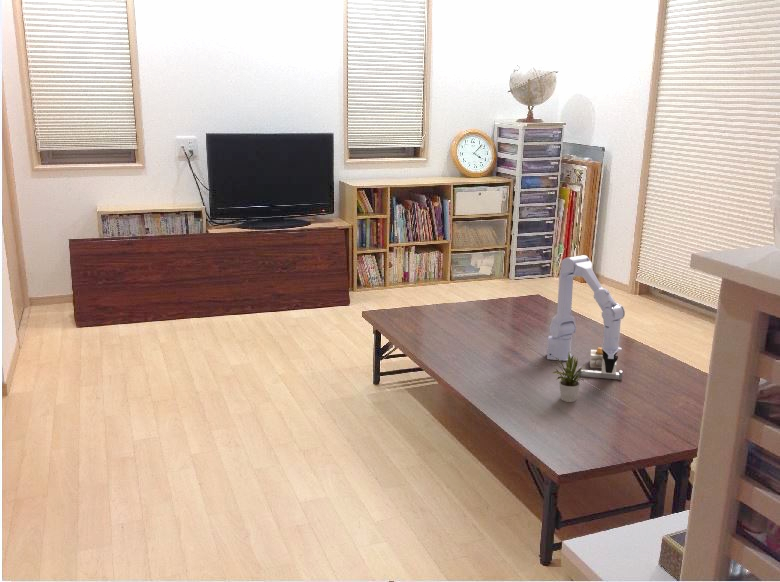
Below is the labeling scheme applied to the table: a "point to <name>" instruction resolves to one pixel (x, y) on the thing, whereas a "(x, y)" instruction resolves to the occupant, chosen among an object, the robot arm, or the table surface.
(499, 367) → the table surface
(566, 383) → the house plant
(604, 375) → the block
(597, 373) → the rail
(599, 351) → the plunger
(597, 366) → the cream cage with ball
